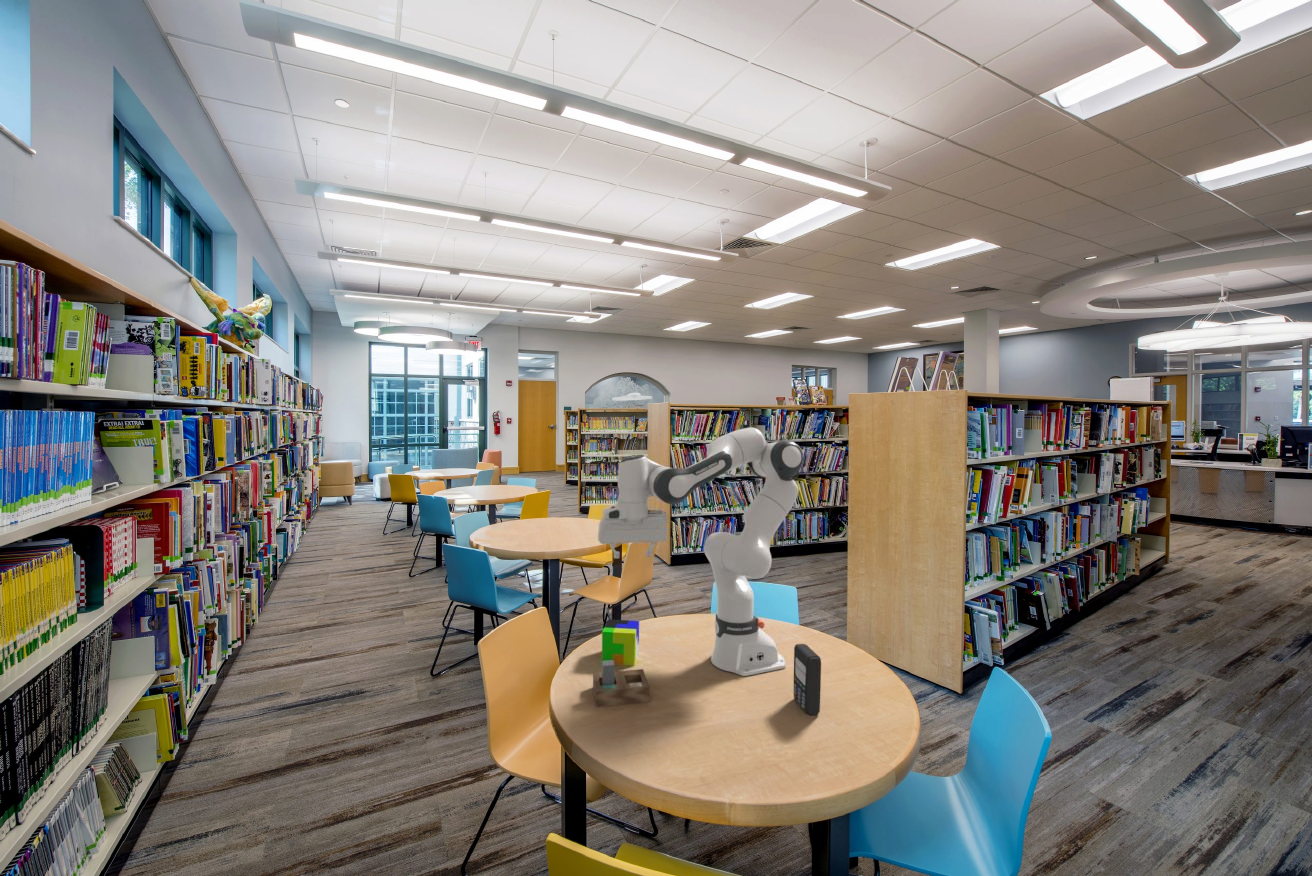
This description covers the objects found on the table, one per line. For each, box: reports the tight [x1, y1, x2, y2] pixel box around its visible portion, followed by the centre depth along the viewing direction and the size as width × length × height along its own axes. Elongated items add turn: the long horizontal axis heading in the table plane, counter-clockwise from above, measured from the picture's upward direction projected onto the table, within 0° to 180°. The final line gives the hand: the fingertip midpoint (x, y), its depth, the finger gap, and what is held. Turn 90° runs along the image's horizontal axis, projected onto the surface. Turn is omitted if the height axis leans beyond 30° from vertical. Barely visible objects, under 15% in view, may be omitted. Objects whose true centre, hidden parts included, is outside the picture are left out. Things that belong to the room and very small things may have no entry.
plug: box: [601, 660, 616, 685], centre depth 143 cm, size 3×3×9 cm
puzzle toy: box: [601, 619, 640, 667], centre depth 166 cm, size 10×10×10 cm
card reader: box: [793, 643, 822, 716], centre depth 138 cm, size 9×4×15 cm, turn 10°
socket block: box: [592, 668, 651, 708], centre depth 144 cm, size 14×10×4 cm
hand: (632, 557), depth 156 cm, fingers open, 8 cm apart
